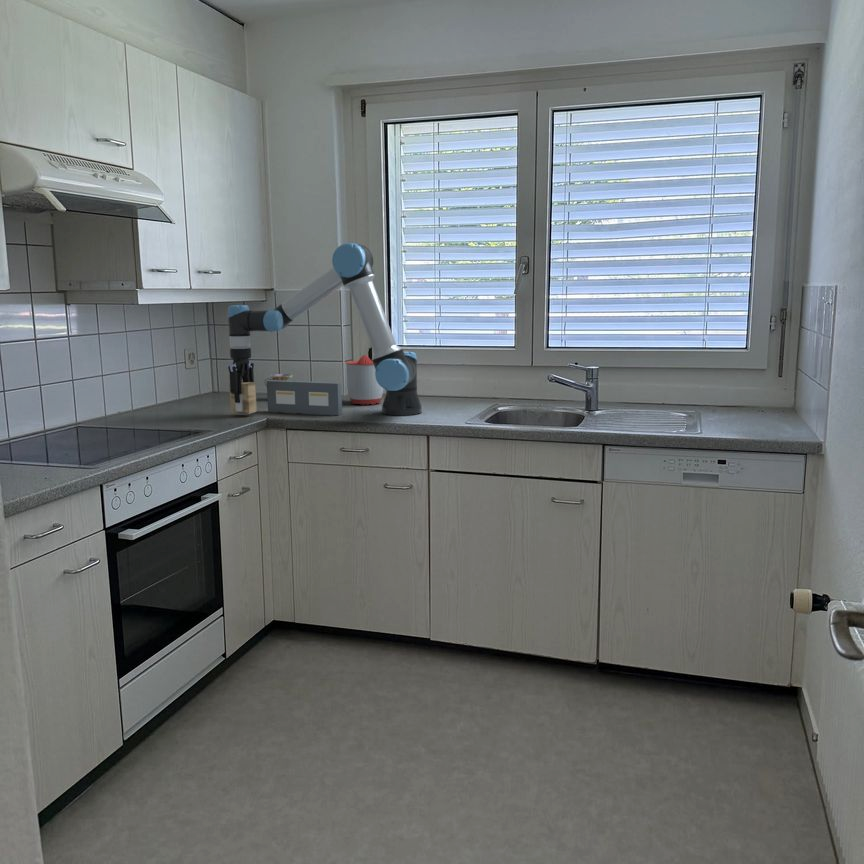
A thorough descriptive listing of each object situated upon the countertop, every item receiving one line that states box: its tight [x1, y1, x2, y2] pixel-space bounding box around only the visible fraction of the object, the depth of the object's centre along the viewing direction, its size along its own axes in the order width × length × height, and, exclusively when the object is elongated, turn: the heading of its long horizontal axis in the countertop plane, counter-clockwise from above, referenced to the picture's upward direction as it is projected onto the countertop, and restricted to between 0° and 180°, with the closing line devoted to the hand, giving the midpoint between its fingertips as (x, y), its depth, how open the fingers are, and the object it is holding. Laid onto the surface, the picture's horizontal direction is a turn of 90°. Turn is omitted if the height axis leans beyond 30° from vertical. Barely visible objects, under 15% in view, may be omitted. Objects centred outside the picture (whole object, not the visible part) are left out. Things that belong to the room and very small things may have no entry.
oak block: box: [228, 381, 257, 415], centre depth 290 cm, size 8×5×11 cm, turn 71°
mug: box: [264, 373, 294, 388], centre depth 330 cm, size 12×9×11 cm
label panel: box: [266, 379, 343, 417], centre depth 295 cm, size 30×4×12 cm, turn 71°
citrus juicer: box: [345, 354, 385, 406], centre depth 318 cm, size 16×17×20 cm
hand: (243, 410), depth 291 cm, fingers closed on oak block, 5 cm apart
